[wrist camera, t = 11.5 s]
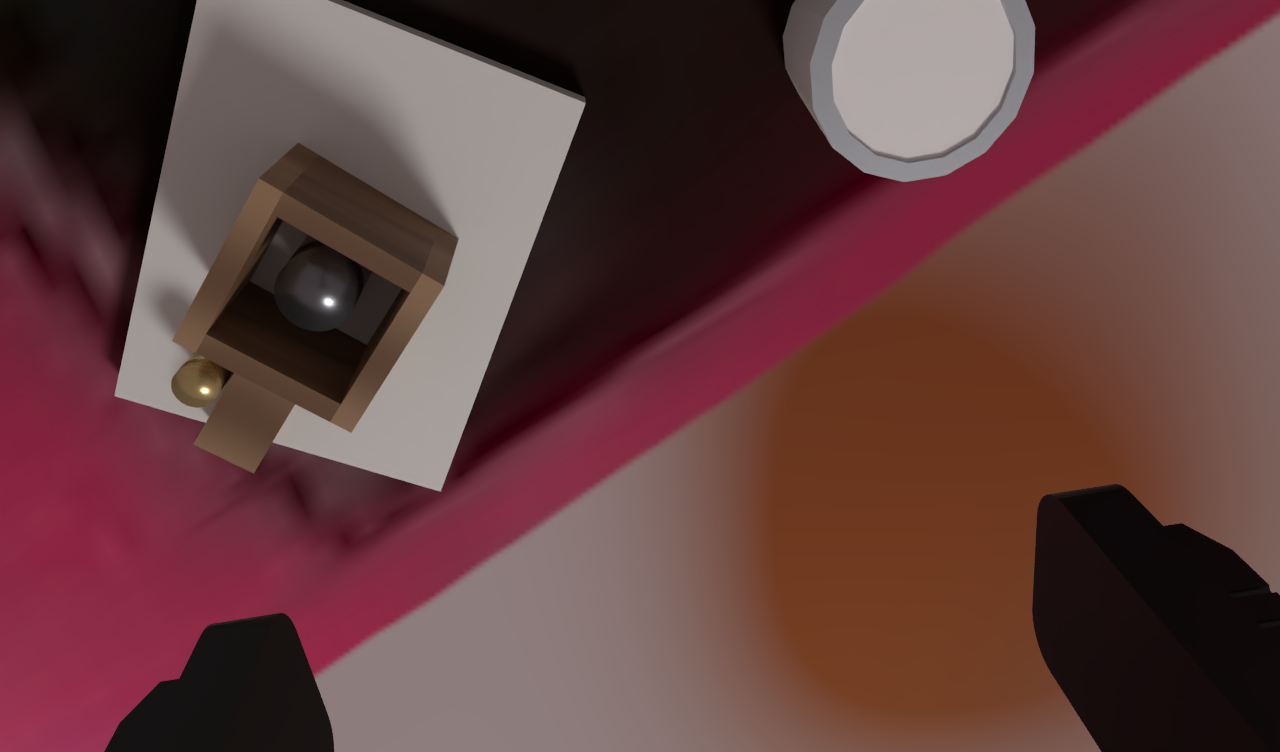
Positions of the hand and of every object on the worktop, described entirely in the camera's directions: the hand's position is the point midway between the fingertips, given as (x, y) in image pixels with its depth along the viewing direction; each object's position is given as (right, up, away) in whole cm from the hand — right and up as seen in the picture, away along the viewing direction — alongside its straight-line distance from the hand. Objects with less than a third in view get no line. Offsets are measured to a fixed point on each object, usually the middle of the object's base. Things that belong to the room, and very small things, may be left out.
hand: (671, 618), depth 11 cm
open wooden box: (-13, +5, +27) cm, 30 cm away
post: (-11, +7, +26) cm, 29 cm away
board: (-12, +7, +27) cm, 30 cm away
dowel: (-17, +3, +27) cm, 32 cm away
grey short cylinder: (+8, +15, +25) cm, 30 cm away
